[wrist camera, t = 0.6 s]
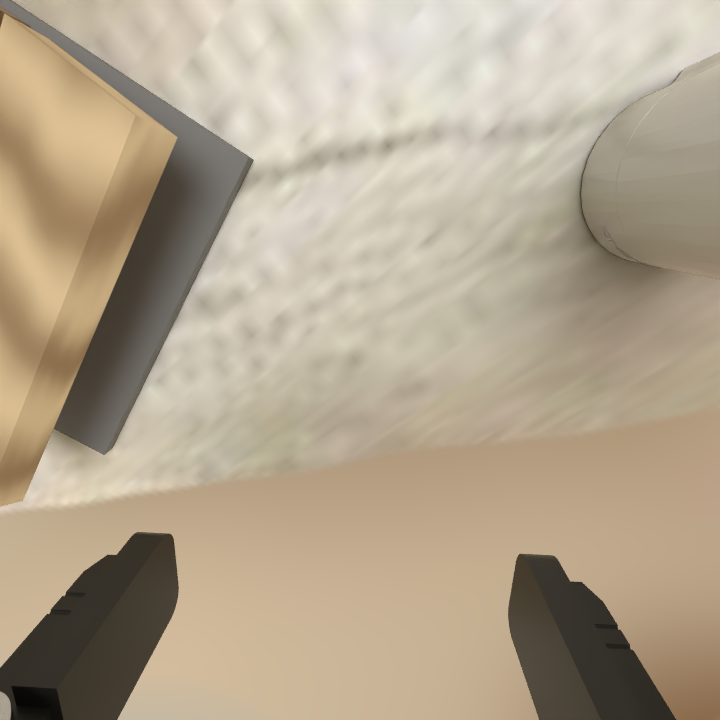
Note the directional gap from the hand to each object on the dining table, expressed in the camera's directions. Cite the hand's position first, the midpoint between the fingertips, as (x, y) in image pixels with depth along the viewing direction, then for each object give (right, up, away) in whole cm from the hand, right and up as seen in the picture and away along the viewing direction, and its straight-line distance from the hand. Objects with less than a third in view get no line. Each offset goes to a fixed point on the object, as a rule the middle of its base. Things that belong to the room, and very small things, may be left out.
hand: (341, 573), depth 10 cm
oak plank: (-17, +9, +13) cm, 24 cm away
